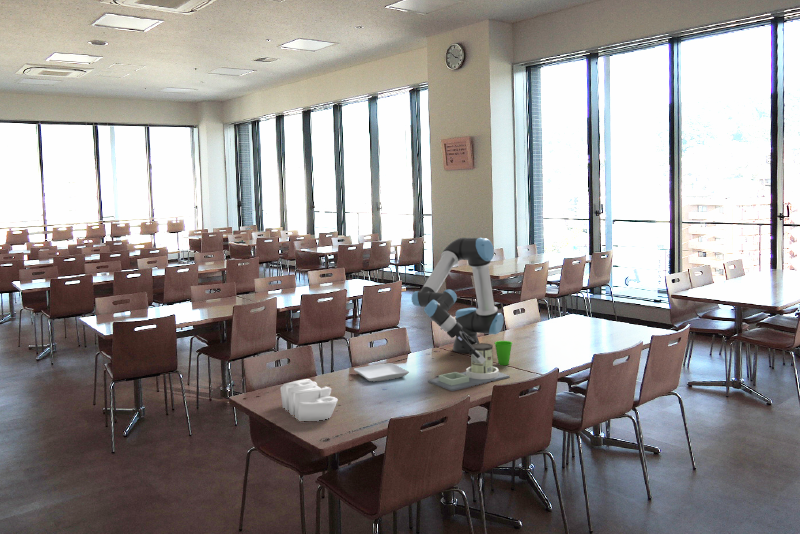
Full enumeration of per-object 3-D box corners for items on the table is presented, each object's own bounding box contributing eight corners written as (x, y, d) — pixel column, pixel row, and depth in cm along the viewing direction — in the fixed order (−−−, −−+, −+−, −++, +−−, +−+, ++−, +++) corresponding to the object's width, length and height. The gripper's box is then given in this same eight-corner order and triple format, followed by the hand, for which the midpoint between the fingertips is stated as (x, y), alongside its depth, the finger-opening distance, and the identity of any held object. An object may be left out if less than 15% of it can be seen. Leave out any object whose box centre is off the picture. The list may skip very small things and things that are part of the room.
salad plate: (352, 374, 332) (352, 367, 332) (392, 368, 340) (392, 362, 340) (368, 385, 313) (368, 378, 312) (410, 378, 321) (409, 371, 321)
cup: (512, 366, 336) (512, 345, 334) (494, 366, 338) (493, 344, 336) (513, 361, 344) (512, 340, 343) (495, 361, 346) (494, 340, 345)
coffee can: (475, 370, 326) (474, 342, 324) (495, 372, 322) (495, 343, 320) (468, 376, 317) (467, 347, 315) (489, 378, 313) (488, 348, 311)
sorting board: (428, 382, 314) (428, 374, 313) (484, 369, 332) (484, 362, 331) (451, 391, 299) (451, 383, 298) (509, 377, 317) (509, 370, 316)
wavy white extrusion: (277, 403, 290) (275, 379, 289) (313, 396, 297) (312, 373, 296) (301, 428, 258) (300, 401, 257) (342, 420, 266) (340, 394, 264)
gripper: (447, 326, 331) (478, 356, 331) (444, 338, 307) (478, 370, 307) (458, 316, 330) (489, 346, 330) (456, 326, 305) (489, 359, 305)
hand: (484, 358), depth 318 cm, fingers open, 13 cm apart
